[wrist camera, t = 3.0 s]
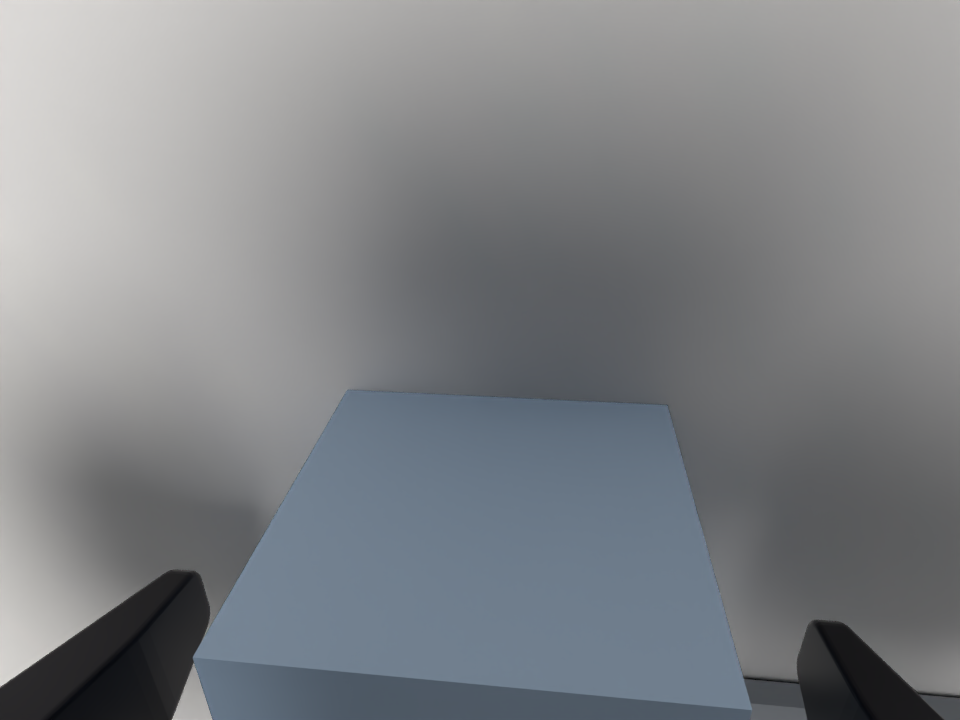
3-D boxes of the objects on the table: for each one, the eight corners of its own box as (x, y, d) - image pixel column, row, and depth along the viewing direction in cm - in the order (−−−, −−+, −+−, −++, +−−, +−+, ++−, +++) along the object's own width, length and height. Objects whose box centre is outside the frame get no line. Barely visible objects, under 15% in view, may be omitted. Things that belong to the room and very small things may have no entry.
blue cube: (375, 606, 13) (277, 917, 8) (349, 387, 10) (191, 658, 6) (634, 627, 12) (675, 971, 8) (666, 401, 10) (752, 710, 5)
